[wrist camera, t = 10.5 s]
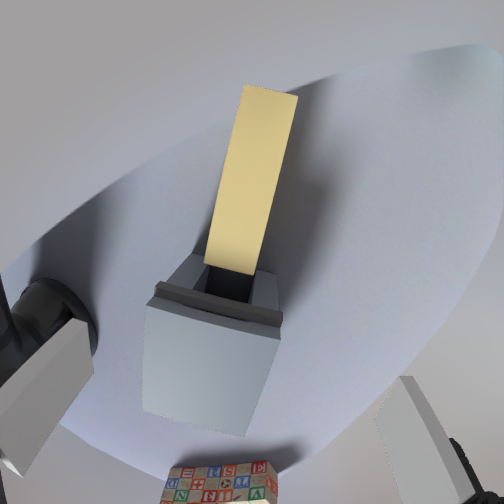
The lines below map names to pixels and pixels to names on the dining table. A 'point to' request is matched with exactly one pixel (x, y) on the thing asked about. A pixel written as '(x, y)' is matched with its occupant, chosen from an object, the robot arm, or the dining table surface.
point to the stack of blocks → (222, 485)
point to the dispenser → (208, 349)
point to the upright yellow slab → (249, 178)
